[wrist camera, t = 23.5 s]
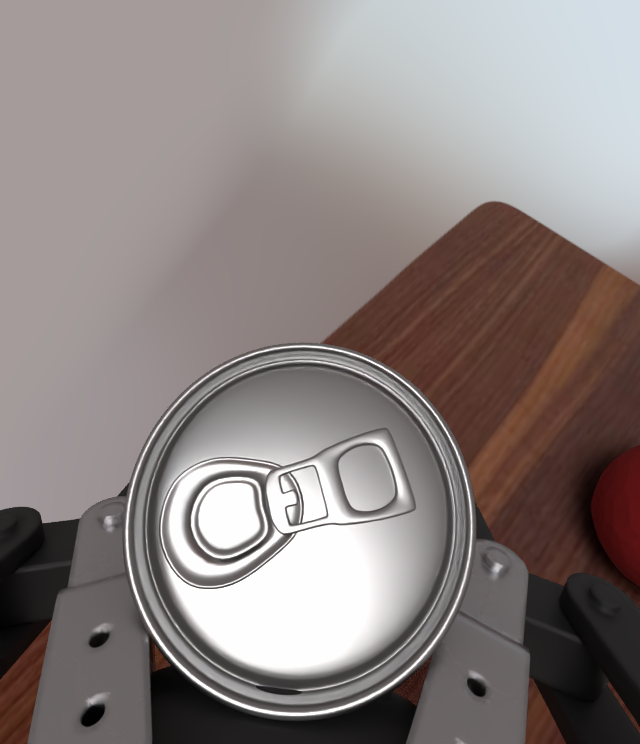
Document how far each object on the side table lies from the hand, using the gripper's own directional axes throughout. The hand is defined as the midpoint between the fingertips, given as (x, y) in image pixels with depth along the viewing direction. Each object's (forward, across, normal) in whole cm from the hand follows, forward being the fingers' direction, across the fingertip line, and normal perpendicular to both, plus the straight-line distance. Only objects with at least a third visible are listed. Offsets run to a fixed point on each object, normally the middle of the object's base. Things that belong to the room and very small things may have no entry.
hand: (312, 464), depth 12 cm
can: (+3, 0, -5) cm, 6 cm away
